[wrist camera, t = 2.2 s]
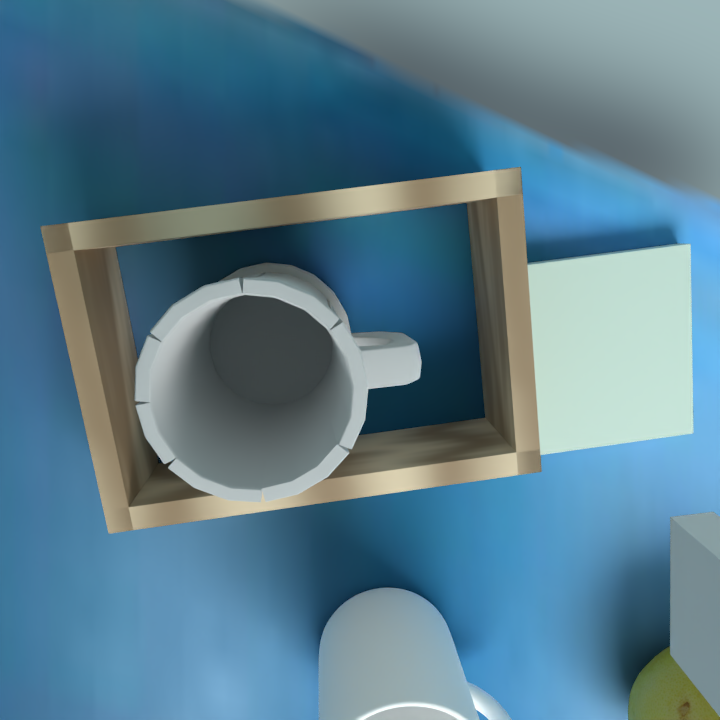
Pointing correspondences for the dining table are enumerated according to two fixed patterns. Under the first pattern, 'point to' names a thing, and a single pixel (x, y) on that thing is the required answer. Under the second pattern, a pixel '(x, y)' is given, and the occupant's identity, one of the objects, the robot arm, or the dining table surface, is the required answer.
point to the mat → (612, 347)
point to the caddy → (371, 451)
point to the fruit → (667, 693)
